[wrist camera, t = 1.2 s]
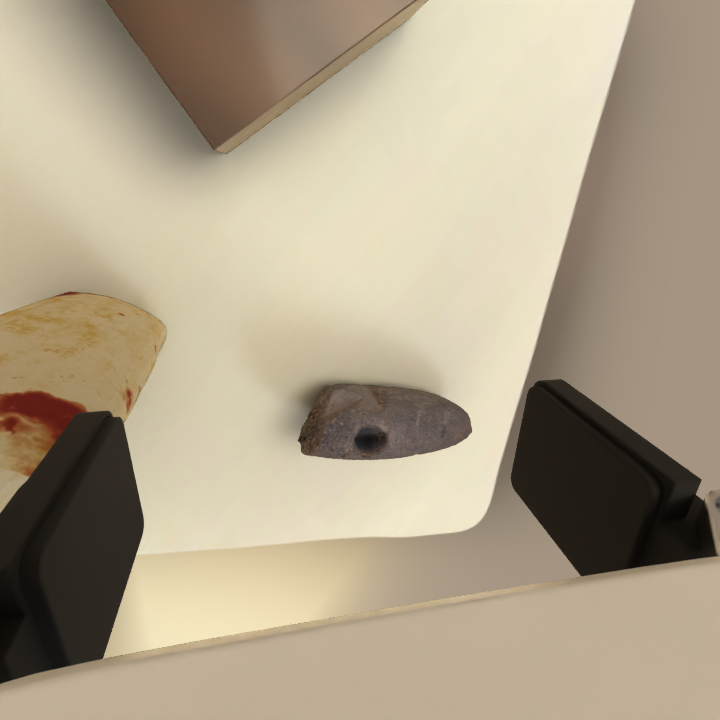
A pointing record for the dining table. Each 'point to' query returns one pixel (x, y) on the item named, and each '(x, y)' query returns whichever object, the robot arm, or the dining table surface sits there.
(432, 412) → the perforated stone tool
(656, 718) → the robot arm
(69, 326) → the food model
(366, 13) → the cabinet
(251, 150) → the dining table surface
